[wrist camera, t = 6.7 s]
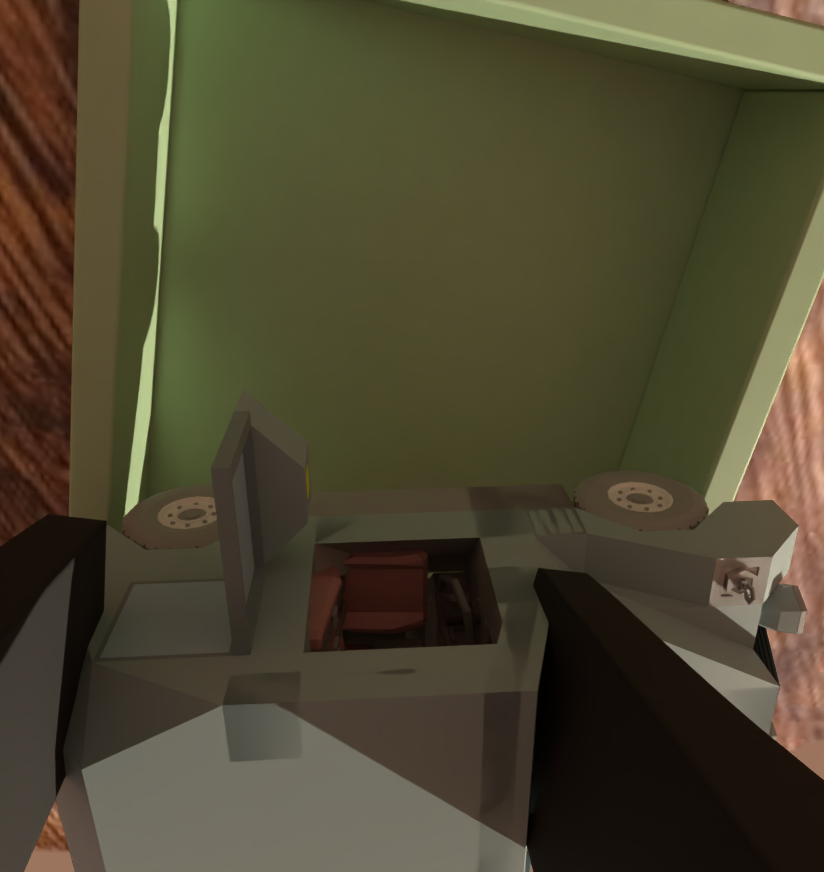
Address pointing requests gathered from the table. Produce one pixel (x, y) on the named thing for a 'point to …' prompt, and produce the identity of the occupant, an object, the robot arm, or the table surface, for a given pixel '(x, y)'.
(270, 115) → the tote
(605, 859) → the robot arm
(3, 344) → the table surface
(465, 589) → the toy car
